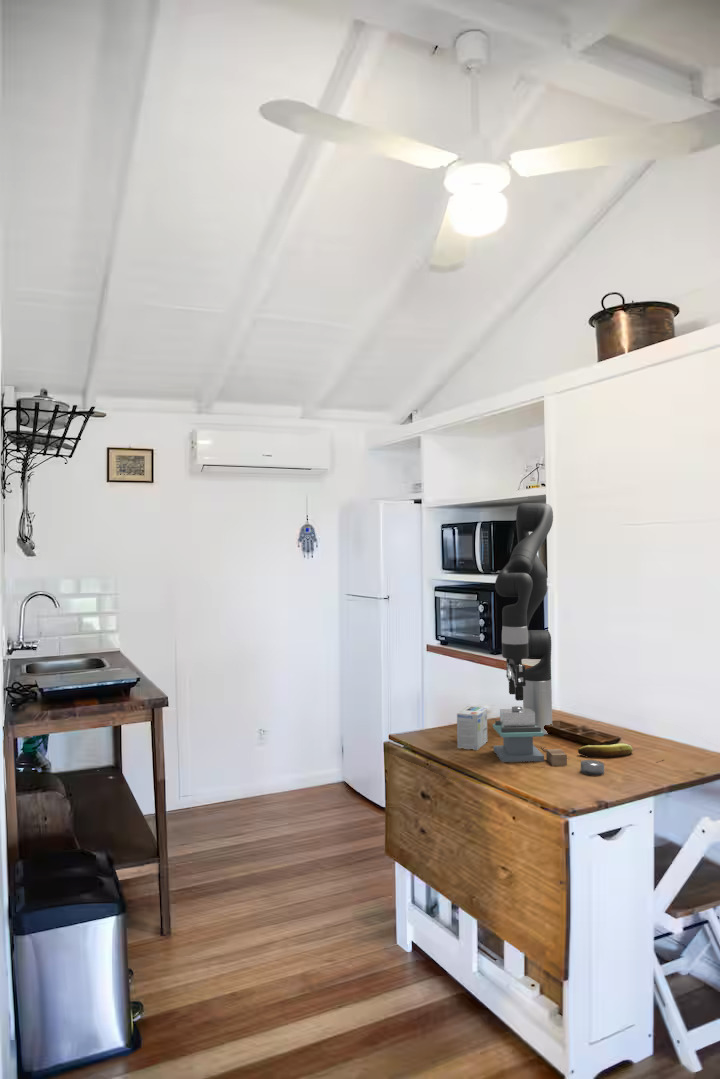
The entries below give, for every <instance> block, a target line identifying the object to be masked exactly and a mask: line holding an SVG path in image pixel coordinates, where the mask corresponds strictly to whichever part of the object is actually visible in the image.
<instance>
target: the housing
mask: <svg viewBox="0 0 720 1079" xmlns="http://www.w3.org/2000/svg"><path fill="white" fill-rule="evenodd" d="M499 720H500V727H535V712H534V711H533V710H531V709H523V706H518V705H517V706H511V708H500V709H499Z"/></svg>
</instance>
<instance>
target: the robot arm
mask: <svg viewBox="0 0 720 1079" xmlns="http://www.w3.org/2000/svg"><path fill="white" fill-rule="evenodd" d="M515 515H516V516H515V520H516V534H517V535H516V536H517V544H516V545H515V546H514V548H513V550H512V552H511V555H510V558H509V560H508V562H507V563H506V564H505V565H504V567H503V568H502V569H501V570H500V571H499V573H498V575H497V576H496V579H495V583H494V588H495V591H496V593H497V594H498V595H499V596H500V597H504V598H506V597H507V598H517V602H516V603H513V604H508V605H505V606H503V608H502V610H501V611H502V612H501V614H502V615H501V616H502V617H501V618H502V630H501V657H502V658H503V659H506V664H505V665H506V675H505V677H506V678H507V681H508V693H509V695H514V699H515V701H522V709H531V710H533V711H534V712H535V725H536V726H537V727H541V731H542V732H543V733H544V735H549V734H548V733H547V731H546V730H545V729H544V726H545V725H550V724H552V725H553V700H552V699H553V698H552V696H553V695H552V635H551V633H550V631H549V630H546V629H545V630H544V629H539V630H538V629H535V630H534V629H533V630H532V629H529V626H530V622H531V620H532V618H533V617H534V616H533V615H534V614H535V612H536V610H537V609H538V608H539V607H540V604H542V602H543V600H544V599H545V597H546V595H547V590H548V572H547V570H546V569H547V568H546V567H545V565H544V564H543V562H542V560H541V559H540V557H539V555H538V552H539V551H540V548H541V547H542V545H543V543H544V542H545V540H546V538H547V536H548V535H549V533H550V531H551V529H552V527H553V521H554V511H553V507H552V506H551V505H550V504H548V503H535V502H534V503H533V502H530V503H529V502H525V503H524V502H523V503H519V505H518V506H517V509H516V514H515ZM525 659H540V660H539V662H538V663H536V664H534V665H532V666H530V667H527V668H526V666H525V664H523V663H522V662H523V661H522V660H525Z"/></svg>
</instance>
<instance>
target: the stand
mask: <svg viewBox="0 0 720 1079" xmlns="http://www.w3.org/2000/svg"><path fill="white" fill-rule="evenodd" d="M492 728H493V729H494V730H495V732H496V733H497V734H498V736H500V738H502V739H503V740H502V741H503V742H502V744H503V745H492V748H493V750H494V751H493V752H494V753H496V754H497V755H496V754H495V755H496V757H497V758H498V757H499V758H498V759H499V761H500V762H501V761H502V762H501V763H518V762H520V763H523V762H525V761H526V762H525V763H527V761H528V763H529V762H530V761H531V762H530V763H533V762H532V761H534V762H545V755H544V754H543V753H542V752H541V751H540V750H539V749H538V748H537V747H536V746H535V745H534V737H545V736H544V735H545V734H544V733H543V732H542V731H541V727H537V726H536V725H535V727H500V719H499V720H495V721H494V723H492ZM522 761H523V762H522Z"/></svg>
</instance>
